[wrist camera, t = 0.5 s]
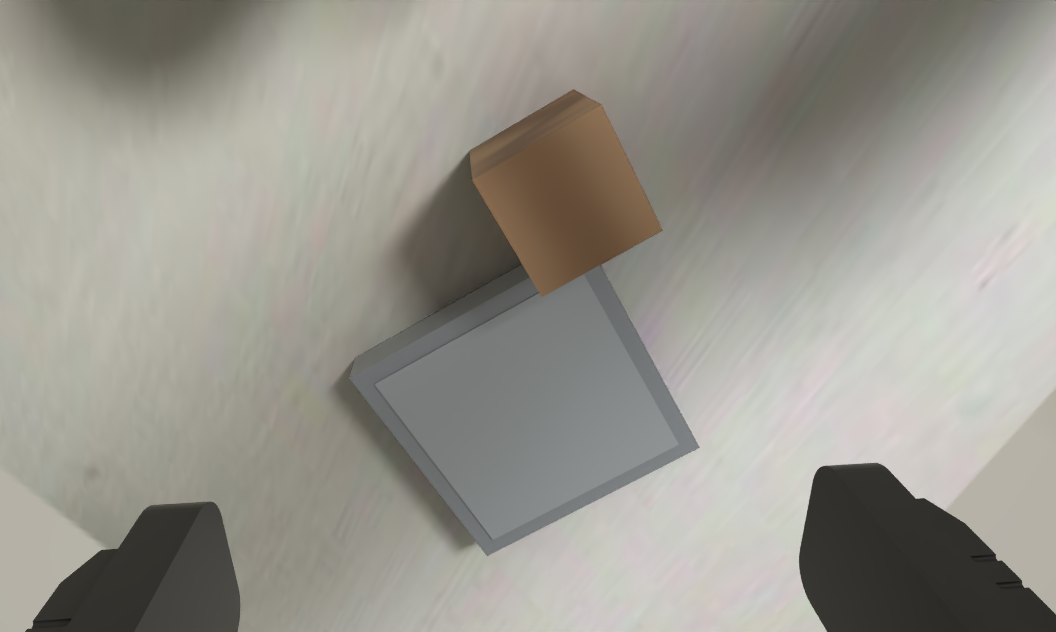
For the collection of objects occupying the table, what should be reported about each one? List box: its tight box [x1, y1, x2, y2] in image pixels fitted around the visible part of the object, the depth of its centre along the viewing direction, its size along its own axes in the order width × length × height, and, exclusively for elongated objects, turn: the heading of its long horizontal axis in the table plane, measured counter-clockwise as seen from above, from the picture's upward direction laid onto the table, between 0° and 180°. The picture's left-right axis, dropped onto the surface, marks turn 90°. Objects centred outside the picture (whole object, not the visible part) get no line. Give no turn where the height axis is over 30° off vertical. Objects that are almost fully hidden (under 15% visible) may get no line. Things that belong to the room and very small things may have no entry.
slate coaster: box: [349, 264, 700, 556], centre depth 32 cm, size 12×12×2 cm
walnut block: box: [469, 90, 662, 297], centre depth 27 cm, size 5×5×6 cm
